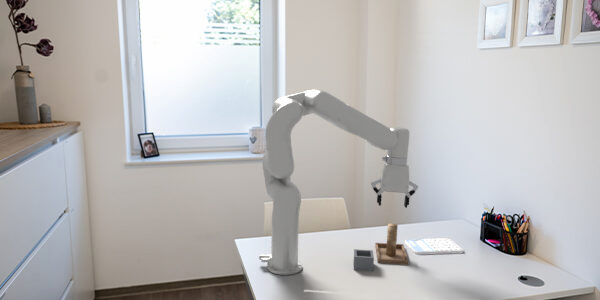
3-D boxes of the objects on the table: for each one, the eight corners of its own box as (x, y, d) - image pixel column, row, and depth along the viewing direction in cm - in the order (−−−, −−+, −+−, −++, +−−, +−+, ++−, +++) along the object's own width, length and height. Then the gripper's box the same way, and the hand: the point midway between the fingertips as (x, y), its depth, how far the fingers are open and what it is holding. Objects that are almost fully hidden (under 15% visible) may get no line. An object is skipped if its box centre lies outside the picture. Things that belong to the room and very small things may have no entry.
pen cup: (353, 271, 164) (354, 256, 163) (353, 263, 171) (354, 249, 170) (373, 272, 163) (373, 257, 162) (372, 264, 170) (372, 250, 169)
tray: (408, 266, 169) (408, 260, 169) (377, 264, 170) (378, 259, 170) (402, 249, 185) (403, 244, 185) (375, 247, 186) (375, 242, 186)
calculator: (464, 254, 183) (464, 249, 182) (415, 255, 180) (415, 251, 180) (449, 241, 196) (449, 237, 195) (403, 242, 193) (403, 238, 193)
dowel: (386, 256, 176) (388, 226, 174) (385, 252, 179) (387, 223, 177) (396, 257, 176) (398, 227, 173) (395, 253, 179) (396, 223, 177)
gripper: (373, 161, 168) (369, 206, 171) (421, 164, 166) (417, 210, 169) (372, 157, 175) (368, 201, 178) (418, 160, 174) (414, 204, 177)
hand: (392, 205), depth 174 cm, fingers open, 9 cm apart
